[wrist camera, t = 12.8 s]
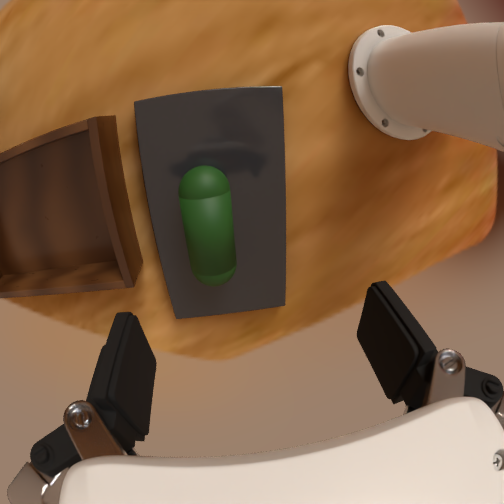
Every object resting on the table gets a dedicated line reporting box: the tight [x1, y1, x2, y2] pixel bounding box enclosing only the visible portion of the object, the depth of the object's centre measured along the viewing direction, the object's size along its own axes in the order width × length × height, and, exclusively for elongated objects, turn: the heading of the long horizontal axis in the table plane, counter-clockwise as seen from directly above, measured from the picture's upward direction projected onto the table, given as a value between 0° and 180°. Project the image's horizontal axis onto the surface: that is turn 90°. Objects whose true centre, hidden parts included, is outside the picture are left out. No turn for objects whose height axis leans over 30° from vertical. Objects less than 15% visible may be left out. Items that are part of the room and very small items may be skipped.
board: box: [134, 86, 286, 319], centre depth 25 cm, size 12×22×2 cm, turn 3°
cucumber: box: [178, 165, 237, 287], centre depth 22 cm, size 4×10×4 cm, turn 3°
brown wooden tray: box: [0, 115, 143, 298], centre depth 20 cm, size 22×15×4 cm
